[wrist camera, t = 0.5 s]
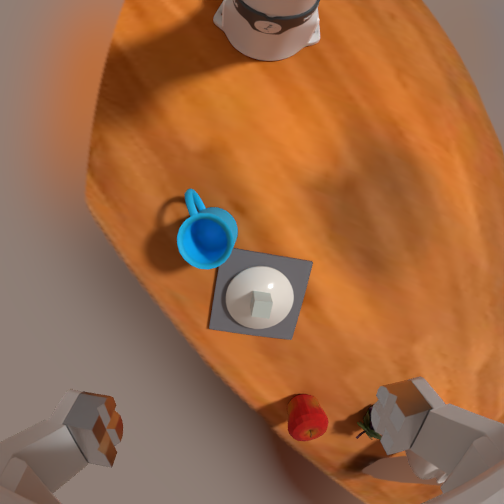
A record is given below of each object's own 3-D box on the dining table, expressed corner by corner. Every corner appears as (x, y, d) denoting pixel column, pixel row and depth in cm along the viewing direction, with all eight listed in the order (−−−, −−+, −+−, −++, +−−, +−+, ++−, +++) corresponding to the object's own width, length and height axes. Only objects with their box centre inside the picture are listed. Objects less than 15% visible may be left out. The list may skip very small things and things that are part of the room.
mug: (245, 244, 51) (242, 256, 43) (202, 262, 52) (192, 277, 44) (216, 177, 48) (207, 177, 40) (172, 198, 49) (156, 202, 41)
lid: (231, 260, 52) (231, 269, 47) (299, 271, 53) (305, 281, 48) (221, 321, 55) (220, 335, 50) (284, 329, 56) (288, 343, 51)
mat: (222, 246, 51) (222, 246, 51) (312, 261, 53) (312, 262, 53) (209, 327, 55) (209, 328, 55) (291, 338, 57) (291, 339, 57)
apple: (287, 417, 64) (295, 453, 52) (278, 394, 61) (286, 433, 50) (322, 406, 63) (334, 441, 52) (315, 383, 61) (329, 420, 50)
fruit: (392, 399, 69) (351, 434, 67) (387, 382, 65) (342, 421, 62) (416, 419, 60) (372, 458, 58) (414, 404, 56) (365, 447, 53)
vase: (409, 445, 73) (435, 493, 51) (385, 437, 70) (413, 492, 48) (444, 414, 71) (477, 459, 49) (425, 401, 67) (462, 454, 45)
